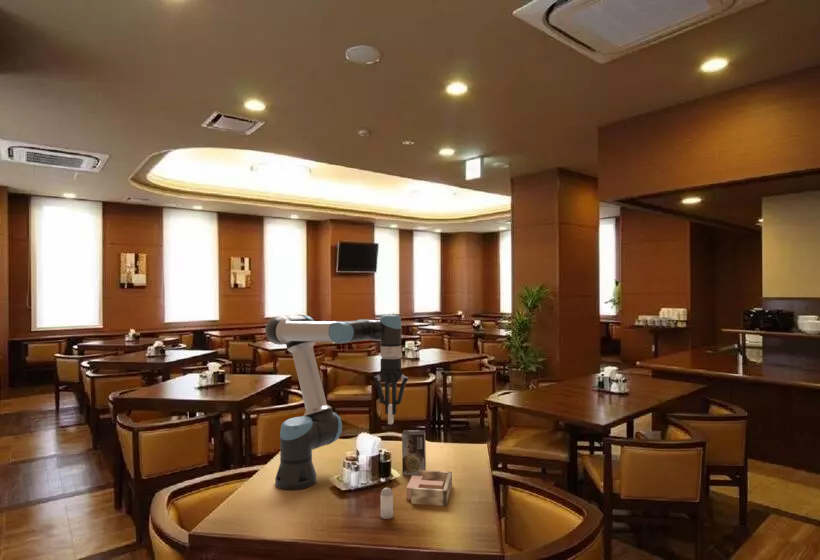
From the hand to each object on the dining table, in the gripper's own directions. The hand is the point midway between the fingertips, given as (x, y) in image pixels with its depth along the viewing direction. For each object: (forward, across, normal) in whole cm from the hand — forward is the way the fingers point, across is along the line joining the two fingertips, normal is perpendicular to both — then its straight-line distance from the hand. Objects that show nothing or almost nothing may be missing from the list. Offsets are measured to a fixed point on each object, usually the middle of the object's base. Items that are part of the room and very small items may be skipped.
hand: (390, 423), depth 181 cm
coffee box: (+25, +5, +20) cm, 32 cm away
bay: (+24, +15, 0) cm, 29 cm away
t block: (+24, +13, 0) cm, 27 cm away
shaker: (+24, +3, -20) cm, 32 cm away
